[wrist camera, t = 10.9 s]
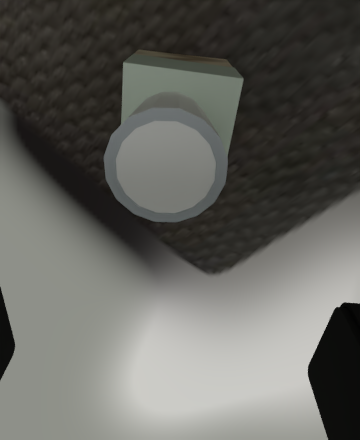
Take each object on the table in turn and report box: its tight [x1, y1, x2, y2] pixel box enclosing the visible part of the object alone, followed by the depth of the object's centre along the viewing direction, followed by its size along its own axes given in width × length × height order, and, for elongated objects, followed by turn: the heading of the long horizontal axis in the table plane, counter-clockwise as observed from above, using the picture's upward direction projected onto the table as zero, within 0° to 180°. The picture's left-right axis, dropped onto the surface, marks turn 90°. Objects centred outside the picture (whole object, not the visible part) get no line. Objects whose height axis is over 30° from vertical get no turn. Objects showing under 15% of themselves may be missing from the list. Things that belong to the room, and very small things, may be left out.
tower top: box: [121, 54, 243, 156], centre depth 27 cm, size 8×8×5 cm
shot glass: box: [104, 92, 228, 222], centre depth 22 cm, size 7×7×7 cm
